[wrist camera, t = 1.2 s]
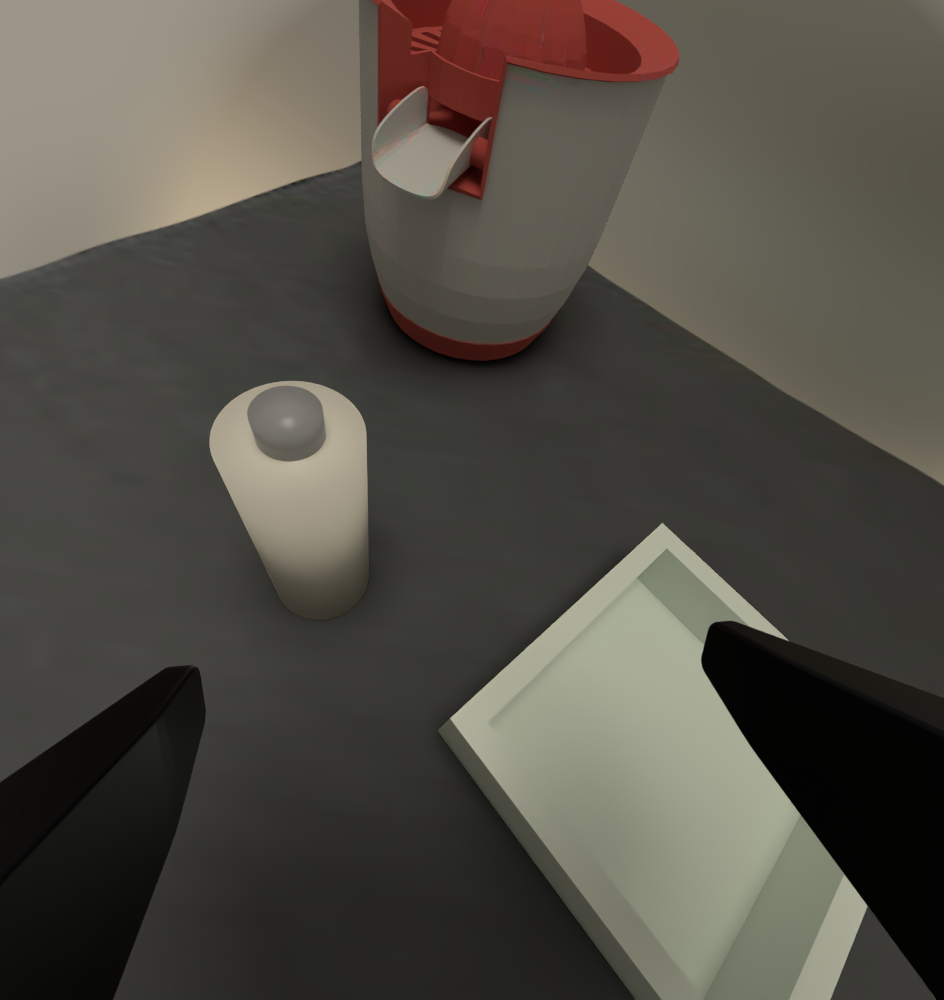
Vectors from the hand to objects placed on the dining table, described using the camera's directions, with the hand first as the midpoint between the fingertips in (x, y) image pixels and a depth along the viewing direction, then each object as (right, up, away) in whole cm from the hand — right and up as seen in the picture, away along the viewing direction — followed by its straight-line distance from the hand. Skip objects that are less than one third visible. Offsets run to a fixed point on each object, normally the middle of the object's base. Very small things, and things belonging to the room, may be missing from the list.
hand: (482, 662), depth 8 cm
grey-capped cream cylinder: (-7, -1, +15) cm, 17 cm away
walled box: (+8, -9, +13) cm, 18 cm away
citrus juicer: (-1, +17, +28) cm, 32 cm away
